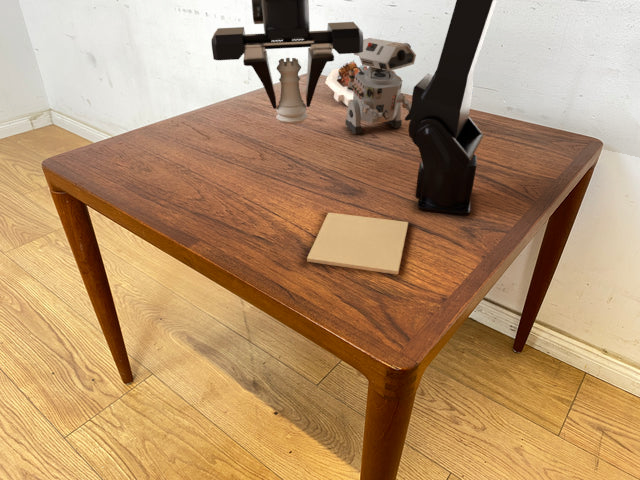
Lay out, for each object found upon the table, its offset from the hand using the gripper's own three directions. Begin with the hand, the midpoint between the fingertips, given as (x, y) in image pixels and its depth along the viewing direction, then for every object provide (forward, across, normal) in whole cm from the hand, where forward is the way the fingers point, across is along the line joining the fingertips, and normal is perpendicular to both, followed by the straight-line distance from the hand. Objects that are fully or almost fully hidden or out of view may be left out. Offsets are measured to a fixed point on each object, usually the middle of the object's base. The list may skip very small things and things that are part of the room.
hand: (291, 106), depth 67 cm
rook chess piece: (+2, 0, 0) cm, 2 cm away
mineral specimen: (+10, -14, -33) cm, 37 cm away
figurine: (+10, -15, -13) cm, 22 cm away
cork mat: (+10, -6, +20) cm, 23 cm away
